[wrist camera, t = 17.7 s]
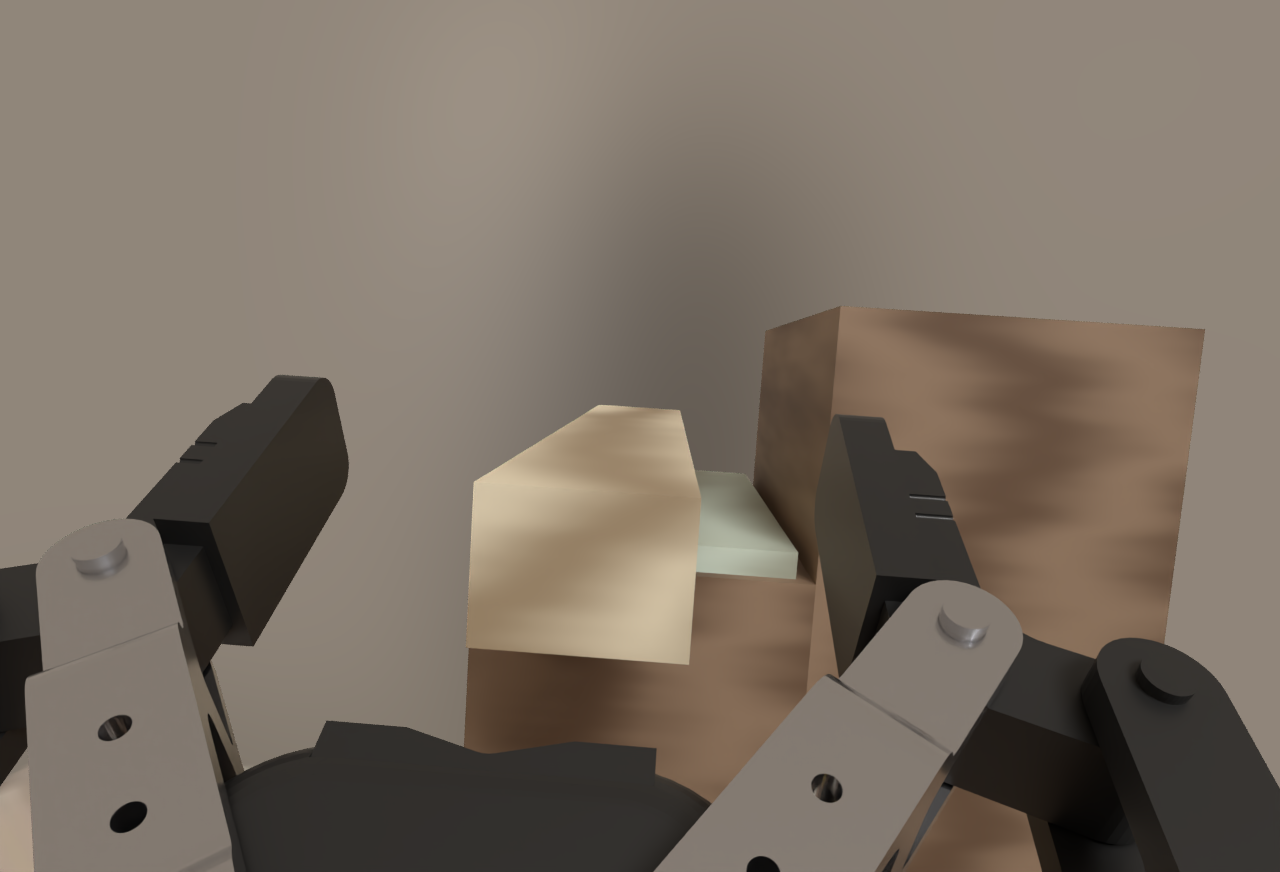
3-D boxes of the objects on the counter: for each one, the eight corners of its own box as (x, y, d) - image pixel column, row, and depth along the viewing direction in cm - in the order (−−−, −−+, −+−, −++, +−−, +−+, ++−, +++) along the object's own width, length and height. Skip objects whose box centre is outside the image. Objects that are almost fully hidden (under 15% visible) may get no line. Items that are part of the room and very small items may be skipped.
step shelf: (904, 945, 43) (967, 344, 40) (1070, 1359, 25) (1205, 329, 22) (533, 912, 44) (567, 318, 41) (437, 1293, 26) (486, 283, 23)
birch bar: (675, 470, 40) (679, 410, 40) (688, 665, 14) (701, 498, 14) (595, 464, 40) (599, 404, 40) (465, 647, 14) (474, 482, 14)
